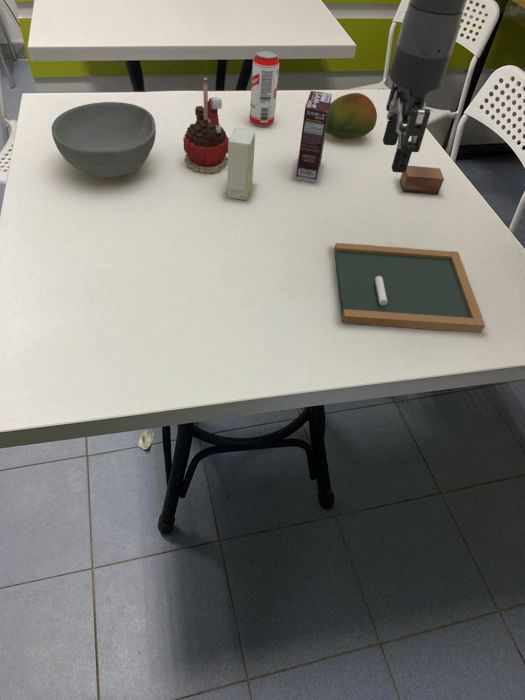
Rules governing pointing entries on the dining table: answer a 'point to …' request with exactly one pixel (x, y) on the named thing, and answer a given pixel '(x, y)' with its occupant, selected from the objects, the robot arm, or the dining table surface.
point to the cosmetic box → (240, 163)
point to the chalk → (381, 290)
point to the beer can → (264, 87)
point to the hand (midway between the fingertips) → (393, 157)
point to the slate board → (405, 288)
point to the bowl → (105, 137)
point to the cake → (206, 137)
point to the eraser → (421, 180)
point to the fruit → (351, 116)
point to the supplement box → (313, 135)
